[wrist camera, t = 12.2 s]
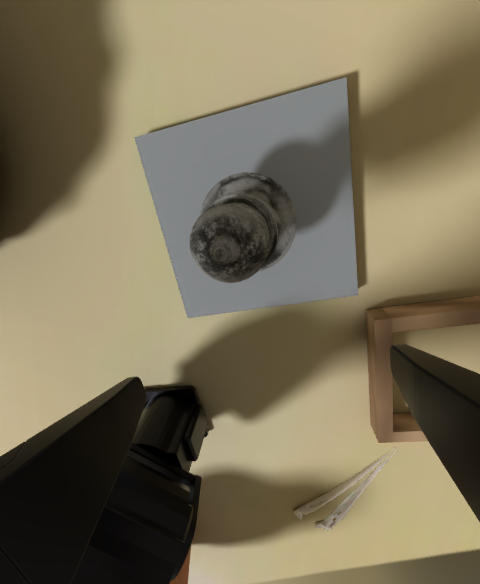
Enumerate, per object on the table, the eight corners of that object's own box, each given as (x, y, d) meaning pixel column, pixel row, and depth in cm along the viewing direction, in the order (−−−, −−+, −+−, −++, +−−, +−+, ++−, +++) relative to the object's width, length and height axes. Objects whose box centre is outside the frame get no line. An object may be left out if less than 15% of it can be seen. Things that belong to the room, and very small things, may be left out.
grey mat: (191, 313, 23) (187, 318, 22) (141, 140, 19) (134, 137, 18) (354, 290, 20) (358, 295, 20) (342, 84, 16) (346, 76, 15)
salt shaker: (232, 160, 17) (159, 95, 6) (308, 201, 18) (368, 209, 6) (199, 238, 19) (101, 293, 8) (267, 273, 20) (260, 371, 9)
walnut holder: (370, 424, 25) (378, 442, 23) (365, 309, 21) (374, 320, 19) (519, 417, 23) (541, 437, 21) (545, 287, 19) (575, 297, 17)
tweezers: (322, 522, 32) (326, 542, 30) (290, 505, 31) (291, 523, 30) (422, 432, 26) (435, 449, 25) (385, 410, 26) (394, 425, 24)
